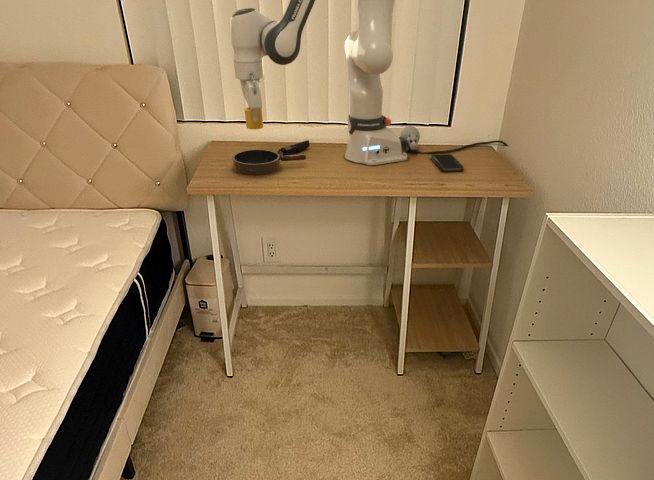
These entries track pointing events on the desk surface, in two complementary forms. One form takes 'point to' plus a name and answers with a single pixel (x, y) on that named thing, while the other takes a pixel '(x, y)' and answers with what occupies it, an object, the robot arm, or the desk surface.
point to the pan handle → (293, 157)
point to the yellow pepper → (249, 121)
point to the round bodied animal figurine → (410, 137)
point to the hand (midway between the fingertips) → (254, 118)
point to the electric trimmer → (293, 148)
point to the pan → (256, 162)
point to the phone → (447, 163)
